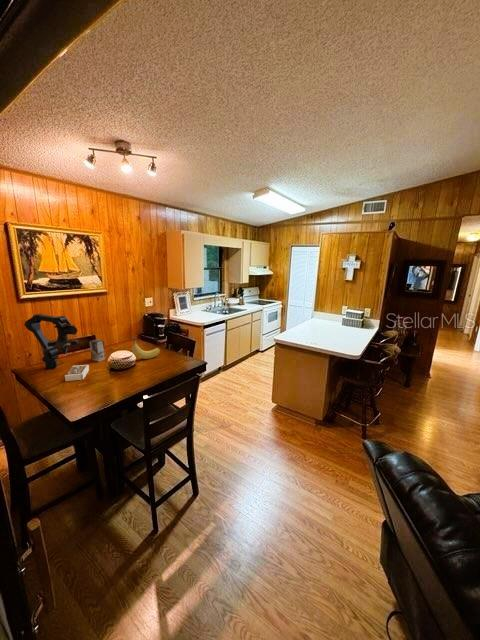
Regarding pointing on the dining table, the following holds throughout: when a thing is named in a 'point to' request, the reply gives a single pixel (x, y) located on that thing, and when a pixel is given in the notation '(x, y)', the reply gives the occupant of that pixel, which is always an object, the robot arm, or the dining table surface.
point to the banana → (144, 354)
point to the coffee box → (97, 350)
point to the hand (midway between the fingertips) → (65, 354)
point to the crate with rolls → (76, 370)
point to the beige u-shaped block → (78, 376)
